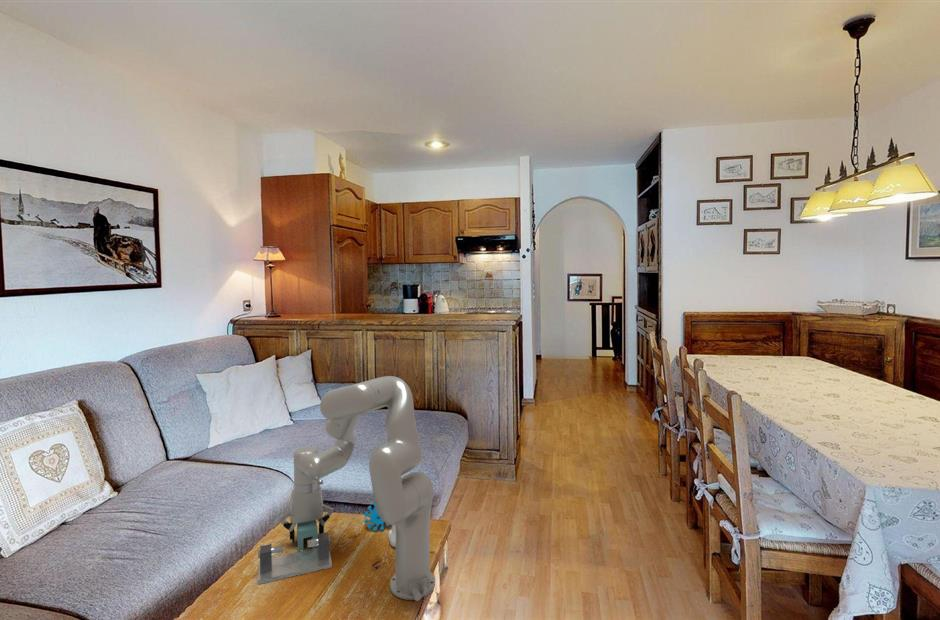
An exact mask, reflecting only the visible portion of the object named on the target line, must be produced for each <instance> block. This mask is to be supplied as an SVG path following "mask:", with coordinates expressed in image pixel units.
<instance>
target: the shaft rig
mask: <svg viewBox="0 0 940 620" xmlns="http://www.w3.org/2000/svg"><path fill="white" fill-rule="evenodd" d="M306 542H307V544H306V545H307V548H311V549H307V550H303V551H297V552H292V553H287V554H283V552H284V551H283V550H284V549H283V544H282V545H277V546H272V543H269V544H263V545H261V546H260V547H259V550H258V549H257V551H258V553H257V554H258V556H257V558H258V559H259V560H258V575H257V585H262V584H267V583H272V582H276V581H279V580H284V578H285V579H288V577H289V578H293V577H297V576H302V575H306V574H310V573H315V572H318V570H319V571H323V570H327V569H331V568H333V562H332V561H333V560H332V556H331V551H330V543H331V535H329V532H327V531H326V532H324V533H322V534H319V533H317V538H316V539H307V541H306ZM317 545H318V547H317V548H313V546H317ZM279 554H283V555H279ZM275 555H279V556H275ZM322 569H323V570H322ZM305 573H306V574H305ZM301 574H302V575H301ZM296 575H297V576H296ZM292 576H293V577H292ZM275 580H276V581H275Z"/></svg>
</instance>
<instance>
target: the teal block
mask: <svg viewBox="0 0 940 620" xmlns="http://www.w3.org/2000/svg"><path fill="white" fill-rule="evenodd" d="M317 534H318V523H317V520H313V521H308V522H303V523H297V524H296V539H297V541H296V542H297V552H301V551H300V550H303V551H304V539H307V538H311V539H316V538H318V535H317ZM311 539H310V540H311ZM315 547H317V548H318V545H317V546H313V547H312V549H315Z"/></svg>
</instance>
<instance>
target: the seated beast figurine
mask: <svg viewBox="0 0 940 620" xmlns="http://www.w3.org/2000/svg"><path fill="white" fill-rule="evenodd" d="M387 535H388V536H387V537H388V540H389V543H390V545H391V546H392V547H393V548H396V525H391V529H389V530H388V533H387Z"/></svg>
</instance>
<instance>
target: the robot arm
mask: <svg viewBox="0 0 940 620" xmlns="http://www.w3.org/2000/svg"><path fill="white" fill-rule="evenodd" d="M413 397H414V396H413V392H412V391H411V388H410V386H409V385H408V384H407V383H406V382H405V381H404V380H403V379H402V378H400V377H397V376H393V375H386V376H380V377H376V378H373V379H369V380H366V381H362V382H358V383H355V384H351V385H350V384H349V385H345V386H341V387H338V388H334V389H331V390H329V391H327V392H326V393H324V395H323V396H322V398H321V399H320V404H319V408H320V412H321V415H322V417H324V418H325V419H326V420H327V421H326V422H325V426H324V427H325V431H326V433H327V434H328V435H329V437H331V438H333V439H335V440H336V441H335V443H334V445H333V446H331V447H330V448H327V449H325V450H322V451H320V452H319V450H318V448H316V447H315V446H309V445H306V446H302V447H299V448H297V449H296V450H295V451H294V454H293V489H292V490H291V493H290V500H289V501H290V502H289V509H288V511H286V512H284V514H283V515H281V516H280V517H279V518H278V522H279V523H280V524H281V525H282V526H283V527H284V528H285V529H287V530H288V532H289V540H290V541H292V542H291V543H292V544H294V543H295V540H296V539H295V538H296V537H295V535H296V534H295V527H297V523H303V522H308V521H313V520H316V521H317V522H318V534H322V533H325V525H326V523H327V521H328V520H329V519H330V517H331V515H332V514H333V513H334V509H333V507H330V506H329V505H327V504H324V500H323V499H324V498H323V491H322V487H321V485H324V478H325V477H327V476H329V475H332V474H333V473H335V472H337V471H340V470H342V469H343V468H344V467H345V466H346V465H347V464H348V462H349V461H350V458H351V457H352V455H353V453H354V451H355V445H356V441H355V436H354V433H353V432H354V430H355V428H356V425H357V424H358V421H359V420H360V418H361V416H362V415H365V414H369V413H371V412H374V411H376V410H380V409H383V408H384V407H387V411H386V416H385V425H384V426H385V432H386V439H387V442H384V444H381V445H380V446H378V447H376V448H375V449H374V450H373V451H372V453H371V455H370V458H369V465H368V468H369V470H368V471H369V477H370V482H371V488H372V493H373V498H374V502H375V505H376V509H377V512H378V514H379V516H380V518H381V519H382V520H383V521H384V523H385V525H386V524H389V526H392V525H396V547H395V573H394V575H393V576H392V577H391V579H390V582H389V588H390V592H391V593H392V594H393V595H394V596H395V597H396V598H399V599H401V600H402V599H403V600H405V601H406V600H408V601H409V600H410V601H411V600H412V601H414V600H415V601H416V602H418V601H420V600H421V599H422V598H424V597H426V596H428V595H429V594H431V592H433V590H434V589H435V586H436V578H435V575H434V574H433V572H431V570H430V566H431V564H430V563H431V561H430V560H431V559H430V557H431V556H430V552H431V551H430V550H431V549H430V548H431V547H430V545H431V543H430V541H431V540H430V539H431V537H430V535H431V533H430V532H431V510H432V505H433V499H434V486H433V483H432V480H431V478H430V477H429V476H428V475H427V474H425V473H423V472H421V471H413V472H410V471H412V470H414V469H415V468H416V467H418V466H419V464H420V463H421V461H422V459H423V458H422V457H423V456H422V449H421V442H420V438H419V432H418V431H419V430H418V427H417V422H416V417H415V408H414V407H415V406H414V405H415V404H414V398H413ZM409 472H410V473H409ZM407 473H408V474H407ZM403 475H404V476H403ZM402 476H403V477H402ZM324 511H325V512H326V513H325V514H324ZM288 518H289V519H290V522H288V521H287V519H288Z"/></svg>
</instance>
